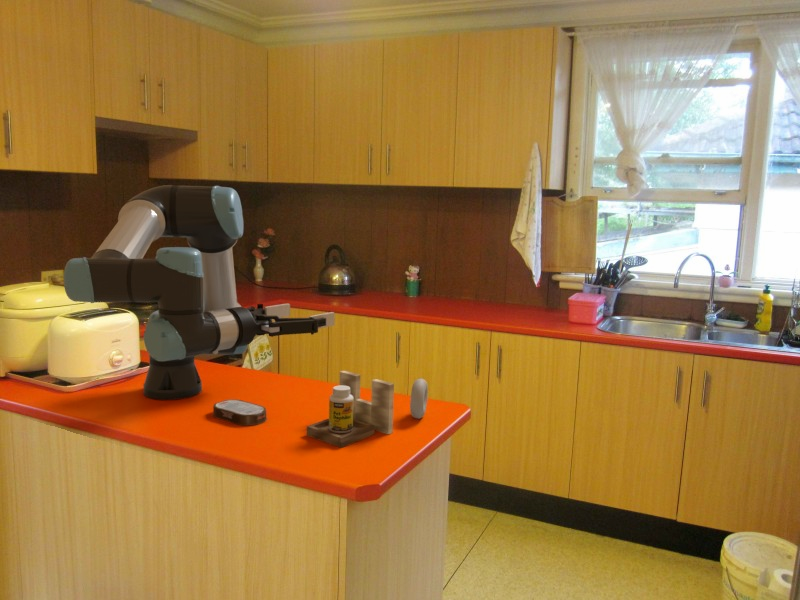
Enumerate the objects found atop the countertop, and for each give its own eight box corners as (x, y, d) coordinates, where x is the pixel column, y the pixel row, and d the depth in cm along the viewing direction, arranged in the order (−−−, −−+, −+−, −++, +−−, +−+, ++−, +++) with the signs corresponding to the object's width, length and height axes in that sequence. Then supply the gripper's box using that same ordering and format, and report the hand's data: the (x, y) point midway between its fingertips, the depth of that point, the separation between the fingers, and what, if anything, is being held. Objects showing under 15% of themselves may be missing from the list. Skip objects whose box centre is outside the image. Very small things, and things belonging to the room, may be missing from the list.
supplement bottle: (329, 435, 148) (330, 391, 147) (327, 426, 154) (328, 384, 152) (354, 434, 149) (355, 390, 148) (351, 425, 155) (352, 383, 153)
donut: (422, 424, 160) (423, 385, 158) (408, 423, 160) (409, 384, 159) (428, 411, 170) (429, 374, 168) (414, 410, 170) (416, 373, 169)
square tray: (306, 435, 151) (306, 426, 151) (339, 423, 159) (340, 414, 159) (341, 447, 144) (341, 438, 144) (374, 434, 153) (374, 425, 152)
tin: (249, 428, 154) (274, 420, 161) (249, 415, 154) (274, 408, 161) (205, 415, 162) (231, 408, 169) (206, 402, 162) (231, 396, 169)
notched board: (339, 418, 163) (339, 371, 161) (343, 417, 164) (343, 370, 162) (388, 434, 153) (389, 384, 151) (392, 432, 154) (393, 383, 152)
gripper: (189, 337, 131) (271, 322, 148) (271, 360, 116) (353, 340, 132) (188, 300, 130) (271, 289, 146) (271, 318, 115) (353, 304, 131)
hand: (310, 314), depth 139 cm, fingers open, 13 cm apart
